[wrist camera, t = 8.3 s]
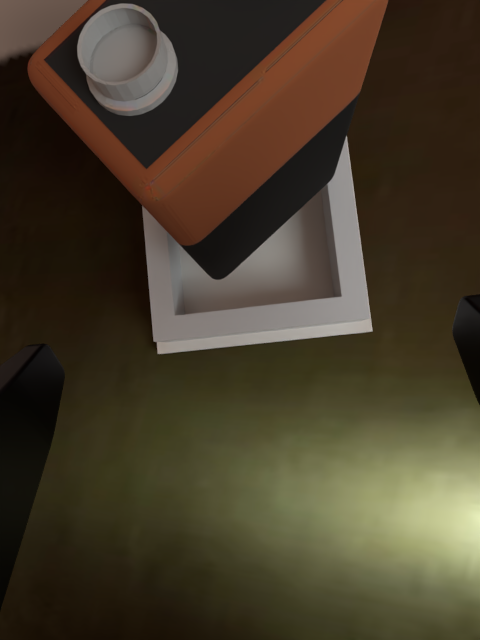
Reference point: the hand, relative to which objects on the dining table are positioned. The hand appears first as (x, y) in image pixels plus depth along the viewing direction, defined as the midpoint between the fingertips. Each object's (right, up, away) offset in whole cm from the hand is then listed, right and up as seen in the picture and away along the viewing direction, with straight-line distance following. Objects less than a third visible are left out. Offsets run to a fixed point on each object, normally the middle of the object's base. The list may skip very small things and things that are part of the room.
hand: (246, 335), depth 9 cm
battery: (0, +6, +8) cm, 10 cm away
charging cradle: (0, +6, +11) cm, 12 cm away
